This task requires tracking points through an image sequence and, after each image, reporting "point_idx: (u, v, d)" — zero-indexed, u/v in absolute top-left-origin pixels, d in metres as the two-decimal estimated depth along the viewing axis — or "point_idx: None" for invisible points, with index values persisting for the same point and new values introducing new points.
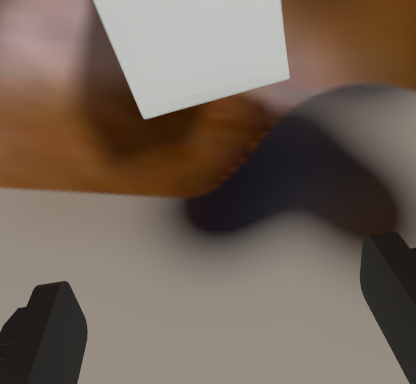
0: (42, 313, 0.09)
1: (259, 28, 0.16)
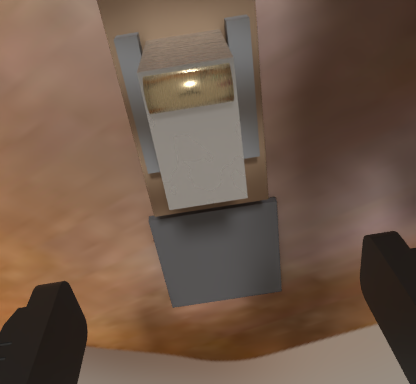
0: (42, 313, 0.09)
1: None
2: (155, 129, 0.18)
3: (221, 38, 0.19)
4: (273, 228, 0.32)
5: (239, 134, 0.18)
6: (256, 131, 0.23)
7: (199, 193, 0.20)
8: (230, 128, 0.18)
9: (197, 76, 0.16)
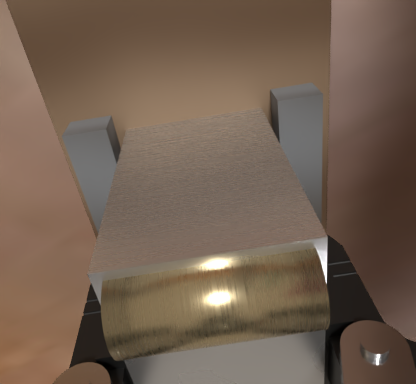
0: None
1: None
2: (137, 365, 0.08)
3: (273, 142, 0.10)
4: None
5: (320, 364, 0.08)
6: None
7: None
8: (302, 356, 0.08)
9: (239, 291, 0.06)
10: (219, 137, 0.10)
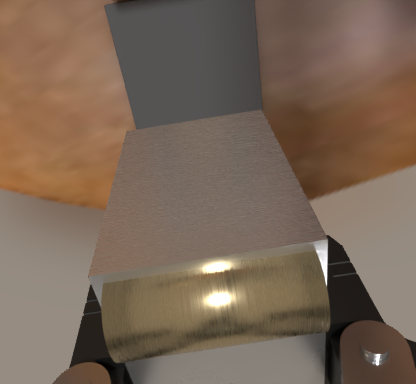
0: None
1: None
2: (138, 367, 0.08)
3: (273, 144, 0.10)
4: (250, 24, 0.28)
5: (321, 366, 0.08)
6: None
7: None
8: (303, 358, 0.08)
9: (239, 294, 0.06)
10: (219, 139, 0.10)
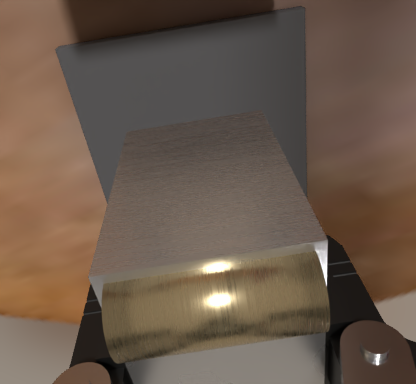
0: None
1: None
2: (138, 367, 0.08)
3: (273, 144, 0.10)
4: (297, 76, 0.17)
5: (321, 367, 0.08)
6: None
7: None
8: (303, 358, 0.08)
9: (239, 294, 0.06)
10: (219, 139, 0.10)
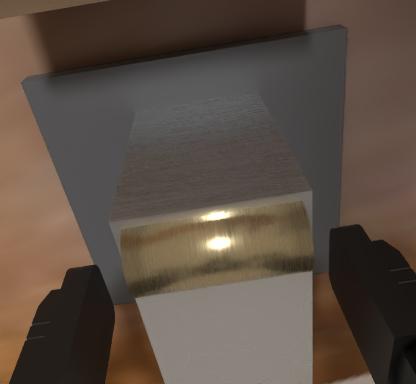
0: (77, 294, 0.10)
1: None
2: (149, 309, 0.09)
3: (268, 119, 0.11)
4: (332, 113, 0.13)
5: (309, 311, 0.09)
6: None
7: None
8: (293, 303, 0.09)
9: (237, 235, 0.07)
10: (220, 116, 0.11)
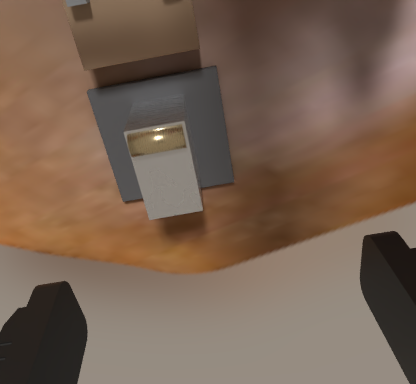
0: (42, 313, 0.09)
1: None
2: (137, 166, 0.27)
3: (182, 103, 0.29)
4: (217, 102, 0.31)
5: (193, 168, 0.27)
6: None
7: (169, 208, 0.29)
8: (186, 164, 0.27)
9: (161, 133, 0.25)
10: (165, 103, 0.29)
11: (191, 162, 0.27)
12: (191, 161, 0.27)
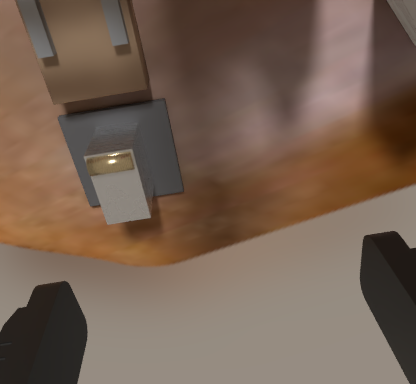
0: (42, 313, 0.09)
1: None
2: (95, 183, 0.33)
3: (134, 130, 0.35)
4: (166, 127, 0.38)
5: (140, 185, 0.34)
6: (121, 20, 0.29)
7: (123, 215, 0.35)
8: (135, 182, 0.34)
9: (113, 159, 0.32)
10: (121, 129, 0.36)
11: (139, 180, 0.34)
12: (139, 179, 0.34)
